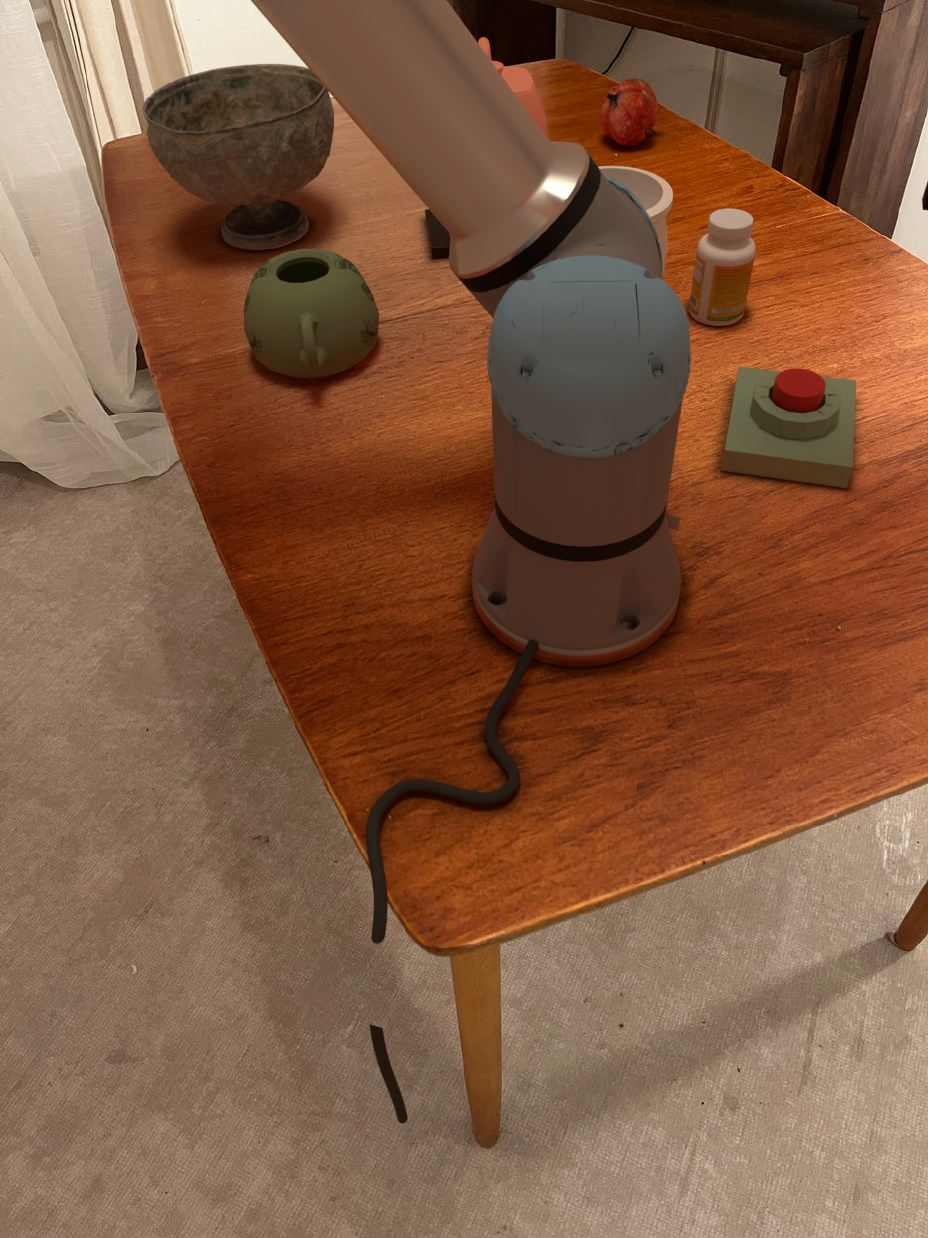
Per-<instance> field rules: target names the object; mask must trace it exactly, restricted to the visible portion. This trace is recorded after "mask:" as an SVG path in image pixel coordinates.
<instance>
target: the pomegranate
mask: <svg viewBox="0 0 928 1238" xmlns="http://www.w3.org/2000/svg"><path fill="white" fill-rule="evenodd" d="M657 121H658V101H657V95H656V93H655V92H654V89H653V88H652V86H651V84H650V83H649V82H648V81H645V80H644V79H643V78H640V79H639V78H630V79H624V80H623V81H622V82H621V83H620V84H616V85H614V86H612V87H611V88H610V90H609V93H607V92H606V95H605V101H604V102H603V104H602V105H601V111H600V123H601V125H602V129H603V131H604V133H605V134H606V135H607V137H609V138H611V139H613V140H614V141H615V142H616V143H617V144H618V145H621V146H623V147H635V146H636V145H638V144H641V143H642V142H643V141H644V140H645V138H646V131H651V132H652V133H653V134H655V135H657V133H658V132H657V131H656V130H654V128H653V127H654V126H655V125H656V123H657Z"/></svg>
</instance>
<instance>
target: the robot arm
mask: <svg viewBox="0 0 928 1238" xmlns="http://www.w3.org/2000/svg"><path fill="white" fill-rule="evenodd" d="M250 1H251V3H252V4H253V5H254V6H255V7H256V9H257V10H258V11H259V12H260V13H261V14H262V16H263V17H264V18H265V19H266V20H267V21H268V23H269V24H270V25H271V26H272V27H273V28H274V29H275V31H276V32H277V33H278V34H279V35H280V36H281V38H282V39H283V40H284V41H285V43H287V45H288V46H289V47H290V48H291V50H292V51H293V52H294V53H295V54H296V56H297V57H298V58H299V59H300V60H301V61H302V62H303V64H304V65H305V67H307V68H309V69H310V70H311V72H312V73H313V74H314V75H315V76H316V77H317V79H318V80H319V81H320V82H321V83H322V84H323V86H324V87H325V88H326V89H327V90H328V92H329V95H331V96H332V97H333V99H334V100H335V101H336V102H337V103H338V104H339V106H340V107H341V108H342V109H343V111H344V112H345V113H346V114H347V115H348V116H349V117H350V118H351V120H352V121H353V122H354V123H355V124H356V126H357V127H358V128H359V129H360V130H361V131H362V133H363V134H364V135H365V136H366V137H367V139H368V140H369V141H370V142H371V143H372V144H373V145H374V147H375V148H376V149H377V150H378V152H379V153H380V154H381V155H382V156H383V158H385V159H386V161H387V162H388V163H389V164H390V165H391V167H392V168H393V169H394V170H395V171H396V172H397V173H398V175H399V176H400V177H401V178H402V179H403V181H404V182H405V183H406V184H407V185H408V187H409V188H410V189H411V190H412V191H413V192H414V194H415V195H416V196H417V197H418V198H419V200H421V202H422V203H423V204H424V205H425V206H426V207H427V209H429V210H430V211H431V212H432V213H433V214H434V215H435V217H436V218H437V219H438V220H439V221H440V222H441V224H442V225H443V226H444V227H445V228H446V230H447V231H448V232H449V233H450V238H451V240H450V253H449V258H448V265H449V269H450V270H451V273H453V275H454V276H455V277H456V278H457V279H458V280H459V281H460V282H461V283H462V285H463V286H464V287H465V288H466V289H467V290H468V292H469V293H470V294H471V295H472V297H474V298H475V300H477V302H478V303H479V305H481V306H482V307H483V309H484V310H485V311H486V312H487V313H488V315H489V316H490V317H491V319H492V323H491V329H490V335H489V336H488V337H489V338H488V342H487V343H488V344H487V352H486V354H487V355H486V366H487V367H486V368H487V376H488V380H489V383H490V386H491V387H490V390H491V422H492V423H491V425H492V426H491V427H492V458H493V459H492V460H493V462H492V463H493V491H494V493H493V494H494V496H493V498H494V507H493V510H492V511H491V514H490V516H489V519H488V521H487V524H486V526H485V529H484V531H483V534H482V536H481V539H480V541H479V544H478V547H477V548H476V552H475V554H474V557H473V560H472V566H471V587H472V589H471V590H472V599H473V603H474V607H475V610H476V612H477V614H478V616H479V618H480V620H481V621H482V623H483V624H484V626H485V627H486V629H488V631H489V632H490V633H491V634H492V635H493V636H494V637H495V638H496V639H497V640H498V641H499V642H501V643H502V644H504V645H505V646H507V647H508V648H510V649H511V650H513V651H514V652H517V653H518V654H521V655H520V656H519V659H518V660H517V663H516V664H515V666H514V668H513V670H512V672H511V674H510V675H509V678H508V679H507V682H506V683H505V685H504V687H503V688H502V690H501V691H500V693H499V694H498V695H497V697H496V698H495V700H494V702H493V703H492V705H491V706H490V708H489V711H488V713H487V714H486V718H485V721H484V727H483V731H484V735H483V736H484V739H485V743H486V746H487V747H488V749H489V751H490V753H491V755H492V756H493V757H494V758H495V760H496V761H497V762H498V763H499V765H500V766H501V767H502V768H503V769H504V772H505V773H506V775H507V779H506V782H505V783H504V785H502V786H501V787H500V788H499V789H495V790H494V791H488V792H487V791H485V792H484V791H475V790H470V789H466V788H462V787H458V786H455V785H453V784H448V783H444V782H441V781H436V780H430V779H425V778H424V779H423V778H417V779H413V778H412V779H406V780H404V781H400V782H397V783H396V784H394V785H392V786H391V787H389V788H387V790H385V791H384V792H383V793H382V794H381V795H380V796H379V797H378V799H377V800H376V801H375V803H374V804H373V805H372V807H371V810H370V812H369V814H368V817H367V822H366V827H365V838H366V839H365V840H366V841H365V842H366V852H367V858H368V859H367V860H368V865H369V871H370V877H371V885H372V893H373V914H372V915H373V917H372V927H371V936H370V940H371V941H372V943H373V944H376V945H379V944H381V943H383V941H384V940H385V938H386V934H387V933H386V932H387V923H388V906H389V905H388V903H389V901H388V889H387V888H388V887H387V880H386V873H385V867H384V862H383V856H382V855H383V854H382V849H381V842H380V828H381V822H382V819H383V817H384V814H385V813H386V811H387V810H388V809H389V807H390V806H391V805H392V804H393V803H394V802H395V801H396V800H397V799H398V798H400V797H401V796H403V795H406V794H410V793H426V794H432V795H436V796H440V797H445V798H448V799H451V800H455V801H458V802H462V803H465V804H466V803H467V804H471V805H477V806H491V805H497V804H500V803H503V802H506V801H508V800H509V799H510V798H511V797H512V796H513V795H514V794H515V793H516V792H517V790H518V789H519V787H520V784H521V771H520V769H519V767H518V765H517V763H516V762H515V760H514V759H513V758H512V756H511V755H510V754H509V753H508V751H507V750H506V749H505V748H504V746H503V745H502V744H501V742H500V740H499V738H498V734H497V729H498V727H497V726H498V723H499V720H500V718H501V716H502V714H503V712H504V710H505V709H506V707H507V706H508V704H509V703H510V701H511V700H512V699H513V696H515V694H516V692H517V690H518V688H519V686H520V684H521V683H522V681H523V679H524V677H525V675H526V673H527V671H528V669H529V667H530V665H531V663H532V661H533V660H535V661H539V662H541V663H546V664H550V665H555V666H562V667H574V668H575V667H581V668H583V667H597V666H602V665H608V664H612V663H616V662H620V661H622V660H625V659H627V658H630V657H632V656H635V655H637V654H638V653H640V652H642V651H644V650H646V649H647V648H649V647H650V646H652V644H654V643H655V642H656V641H658V640H659V639H660V637H661V636H663V634H664V633H665V632H666V630H667V629H668V628H669V627H670V625H671V623H672V622H673V620H674V617H675V615H676V613H677V610H678V605H679V601H680V595H681V590H682V589H681V588H682V582H683V581H682V580H683V579H682V568H681V564H680V561H679V557H678V553H677V549H676V547H675V543H674V540H673V536H672V532H671V530H673V531H679V529H680V528H679V527H680V522H681V517H679V516H674V515H669V514H666V512H667V506H668V505H667V504H668V499H669V492H670V486H671V479H672V474H673V473H672V472H673V466H674V460H675V454H676V445H677V439H678V433H679V427H680V419H681V413H682V408H683V407H682V406H683V400H684V396H685V394H686V392H687V387H688V382H689V378H690V373H691V364H692V352H691V351H692V350H691V343H690V342H691V340H690V339H691V337H690V335H691V333H690V332H691V331H690V323H689V318H688V314H687V312H686V309H685V306H684V304H683V301H682V300H681V299H680V297H679V296H678V294H677V293H676V291H675V290H674V289H673V288H672V286H671V285H669V284H668V282H666V281H665V280H664V276H663V277H662V253H661V247H660V244H659V243H658V235H657V232H656V230H655V227H654V225H653V223H652V221H651V219H650V217H649V215H648V213H647V212H646V210H645V209H644V207H643V205H642V204H641V202H640V201H639V200H638V198H637V197H636V196H635V195H634V194H633V193H632V192H631V191H630V190H629V189H628V188H627V187H626V186H624V185H623V184H622V183H620V182H619V181H617V180H615V179H614V178H612V177H610V176H608V175H605V174H603V173H602V172H601V170H600V169H599V167H600V166H598V164H597V163H596V162H595V160H594V159H593V158H592V156H591V155H590V153H589V152H588V151H587V150H586V149H585V147H583V145H582V144H580V143H577V142H571V141H553V140H550V139H549V140H548V139H547V137H546V136H545V135H544V133H543V132H542V131H541V129H540V128H539V126H538V125H537V124H536V122H535V121H534V120H533V118H532V117H531V116H530V114H529V113H528V111H527V110H526V109H525V107H524V106H523V105H522V103H521V102H520V100H519V99H518V98H517V96H516V95H515V94H514V92H513V91H512V89H511V88H510V87H509V85H508V84H507V83H506V81H505V80H504V78H503V77H502V76H501V74H500V73H499V72H498V70H497V69H496V68H495V66H494V65H493V63H492V62H491V61H490V59H489V58H488V57H487V55H486V54H485V52H484V51H483V50H482V48H481V47H480V46H479V44H478V42H477V40H476V39H475V37H474V36H473V35H472V33H471V31H470V30H469V29H468V27H467V26H466V25H465V23H464V22H463V21H462V19H461V18H460V16H459V15H458V14H457V12H456V11H455V10H454V8H453V7H452V6H451V4H450V3H449V1H448V0H250ZM923 191H924V192H923V194H922V197H921V203H922V204H921V206H922V207H921V208H922V211H928V180H927V182H926V185H925V187H924V190H923ZM368 1026H369V1032H370V1038H371V1043H372V1047H373V1053H374V1055H375V1059H376V1063H377V1065H378V1069H379V1071H380V1074H381V1077H382V1079H383V1081H384V1084H385V1086H386V1089H387V1092H388V1094H389V1097H390V1099H391V1102H392V1105H393V1109H394V1112H395V1116H396V1119H397V1121H398V1122H399V1123H400V1124H402V1125H403V1124H406V1123H407V1121H408V1119H409V1117H408V1112H407V1108H406V1104H405V1101H404V1097H403V1094H402V1091H401V1089H400V1086H399V1083H398V1081H397V1077H396V1075H395V1072H394V1069H393V1068H392V1063H391V1060H390V1057H389V1053H388V1048H387V1045H386V1040H385V1033H384V1028H383V1027H382V1026H377V1025H373V1024H369V1025H368Z"/></svg>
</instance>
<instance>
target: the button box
mask: <svg viewBox="0 0 928 1238" xmlns="http://www.w3.org/2000/svg"><path fill="white" fill-rule="evenodd" d="M781 372H782V370H781V371H779V370H771V369H763V368H756V367H755V368H754V367H746V366H738V369H737V374H736V379H735V383H734V384H735V385H734V389H733V396H732V401H731V408H730V413H729V419H728V425H727V431H726V436H725V441H724V448H723V454H722V459H721V466H720V471H722V472H728V473H735V474H742V475H744V474H745V475H750V476H758V477H764V478H771V479H772V478H773V479H778V480H785V481H793V482H799V483H807V484H812V485H813V484H814V485H819V486H828V487H833V488H834V487H835V488H840V489H841V488H842V489H847V487H848V485H849V481H850V478H851V476H852V472H853V469H854V454H855V453H854V452H855V451H854V450H855V425H856V396H857V380H856V379H847V378H838V377H831V376H822V375H820V376H821V377H822V378H823V379H824V380H825V383H826V388H825V392H824V395H823V399H822V403H821V405H820V407H819V408H818V409H817V410H816V411H813V412H808V413H803V414H802V413H794V412H787V411H785V410H783V409H781V408H779V407H777V406H775V404H774V403H773V401H772V392H773V388H774V383H775V379H776V377H777V375H778V374H779V373H781Z"/></svg>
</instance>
